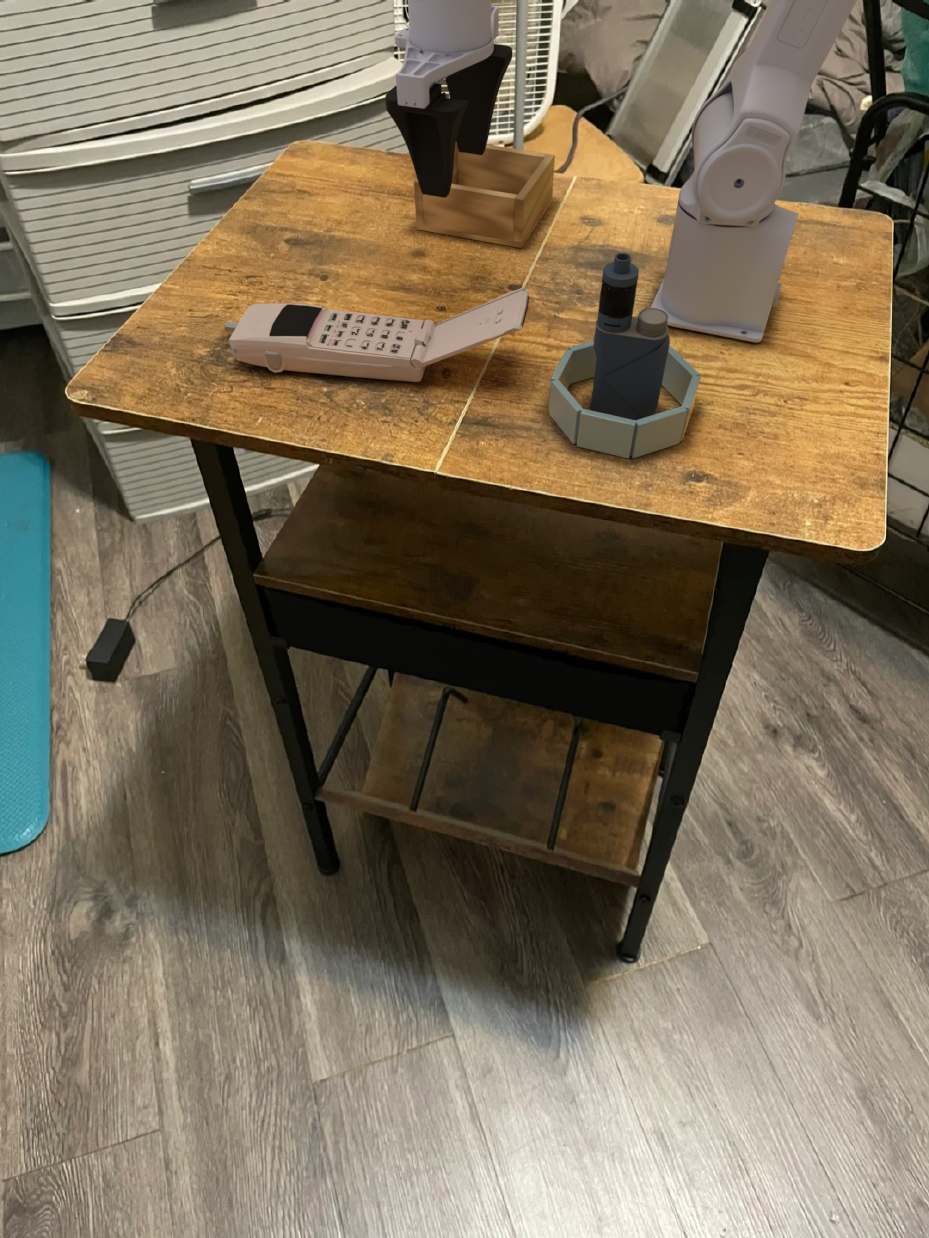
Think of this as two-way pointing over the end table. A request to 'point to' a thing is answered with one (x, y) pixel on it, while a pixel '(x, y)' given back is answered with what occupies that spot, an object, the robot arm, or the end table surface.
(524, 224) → the holder
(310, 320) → the mobile phone
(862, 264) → the end table surface
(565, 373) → the octagonal ring
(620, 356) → the vaping device
